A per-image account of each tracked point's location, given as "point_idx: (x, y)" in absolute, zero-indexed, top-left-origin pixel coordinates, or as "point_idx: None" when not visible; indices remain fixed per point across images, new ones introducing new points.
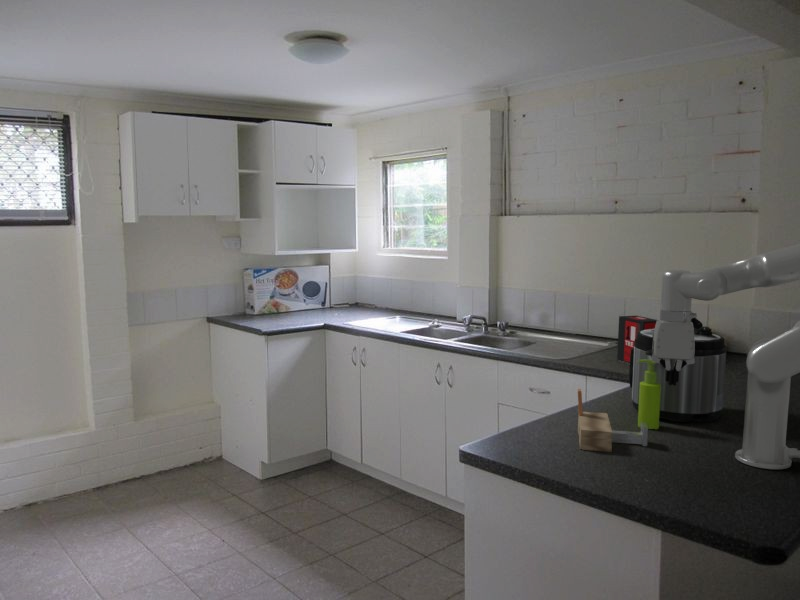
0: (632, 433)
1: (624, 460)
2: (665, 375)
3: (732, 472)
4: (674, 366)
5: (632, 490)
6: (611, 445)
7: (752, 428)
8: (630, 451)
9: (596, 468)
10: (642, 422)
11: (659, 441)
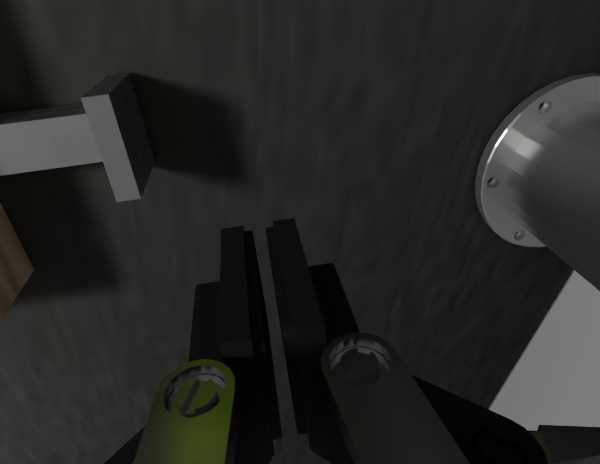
0: (67, 149)
1: (103, 325)
2: (195, 326)
3: (422, 295)
4: (323, 406)
5: None
6: (22, 286)
7: (591, 283)
8: (101, 235)
9: (42, 408)
10: (93, 109)
11: (201, 49)
